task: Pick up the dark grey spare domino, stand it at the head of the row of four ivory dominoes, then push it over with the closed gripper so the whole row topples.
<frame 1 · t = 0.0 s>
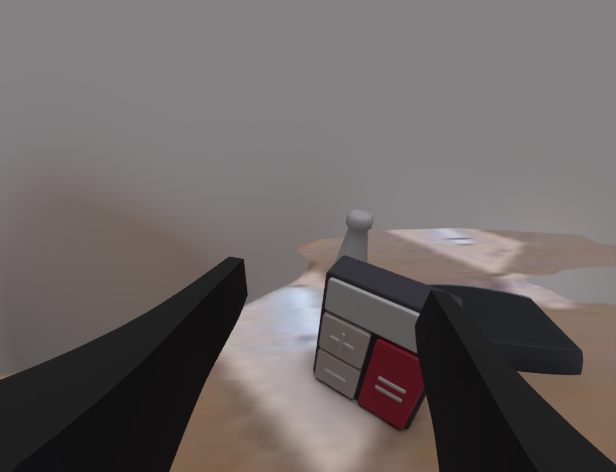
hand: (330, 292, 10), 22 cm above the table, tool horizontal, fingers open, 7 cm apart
salt shaker: (348, 278, 46), on the table
calculator: (360, 389, 29), on the table
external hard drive: (478, 332, 38), on the table
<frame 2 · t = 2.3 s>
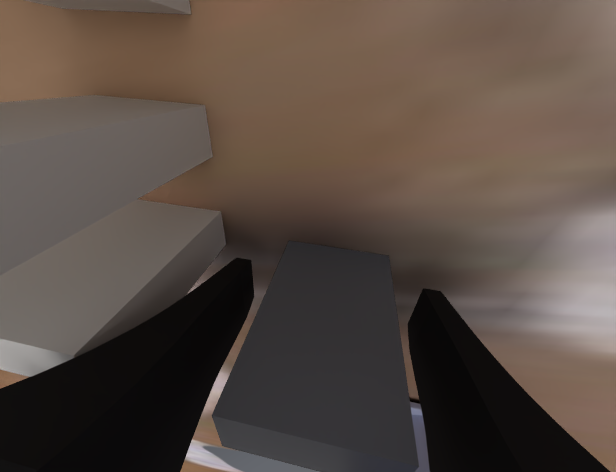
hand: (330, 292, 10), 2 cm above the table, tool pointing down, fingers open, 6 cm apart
tile 3: (154, 126, 10), on the table
tile 2: (181, 220, 12), on the table, touching gripper
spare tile: (335, 263, 12), on the table
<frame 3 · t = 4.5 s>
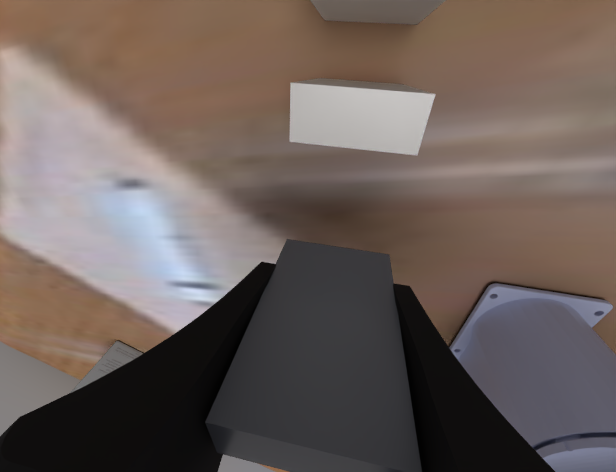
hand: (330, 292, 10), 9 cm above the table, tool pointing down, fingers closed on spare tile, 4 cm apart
tile 2: (358, 100, 14), on the table
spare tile: (334, 262, 11), point 7 cm above the table, touching gripper
skincare box: (135, 356, 37), on the table
when the fingers open (2 cm above the table, at t = 6.2 s): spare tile stays where it is, on the table.
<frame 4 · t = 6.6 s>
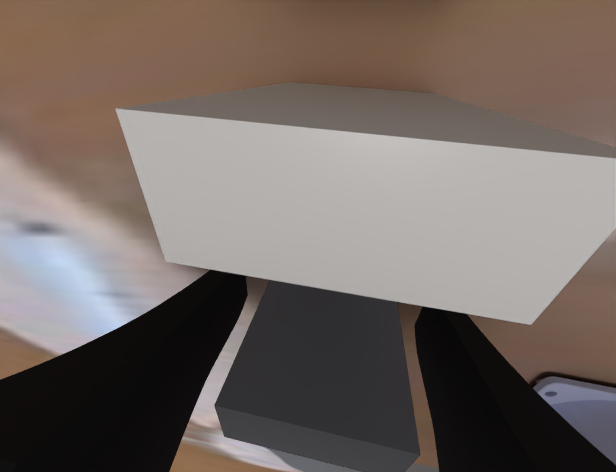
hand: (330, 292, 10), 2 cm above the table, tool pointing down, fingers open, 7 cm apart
tile 2: (356, 119, 8), on the table
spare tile: (335, 258, 12), on the table
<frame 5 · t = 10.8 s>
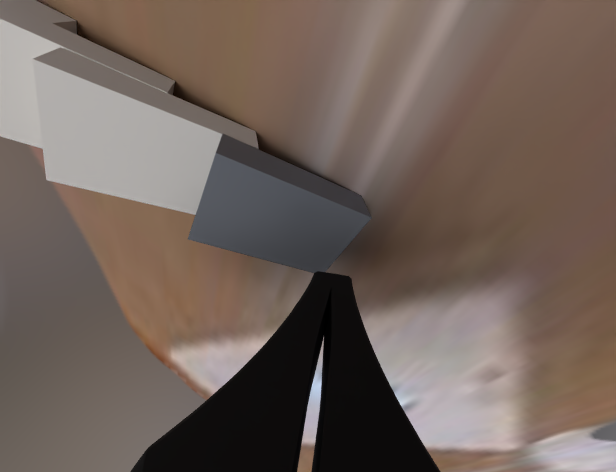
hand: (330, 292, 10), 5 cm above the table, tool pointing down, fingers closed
tile 3: (163, 133, 12), point 1 cm above the table, tilted 66°, touching tile 2
tile 2: (240, 178, 13), point 1 cm above the table, tilted 64°, touching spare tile, tile 3
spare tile: (340, 237, 13), point 1 cm above the table, tilted 71°, touching tile 2
tile 4: (67, 78, 11), point 1 cm above the table, tilted 70°, touching tile 5
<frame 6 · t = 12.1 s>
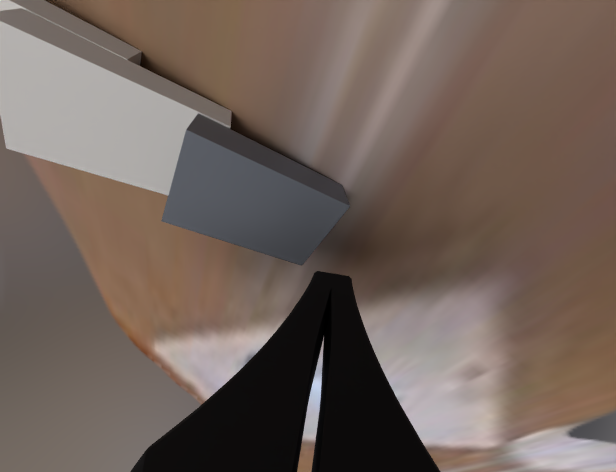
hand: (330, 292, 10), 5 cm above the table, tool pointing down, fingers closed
tile 3: (128, 106, 12), point 1 cm above the table, tilted 68°, touching tile 2, tile 4
tile 2: (215, 160, 12), point 1 cm above the table, tilted 66°, touching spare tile, tile 3
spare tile: (321, 227, 13), point 1 cm above the table, tilted 72°, touching tile 2
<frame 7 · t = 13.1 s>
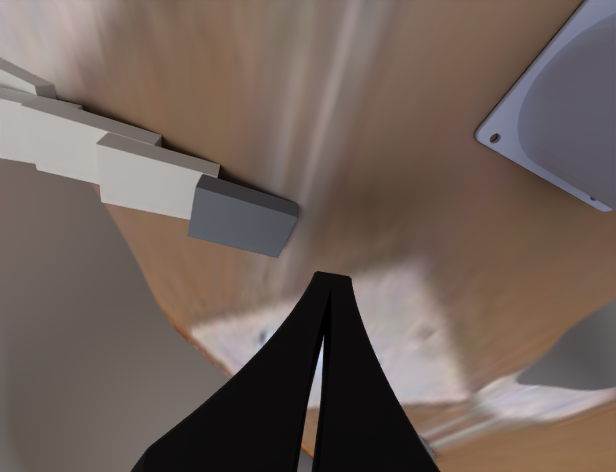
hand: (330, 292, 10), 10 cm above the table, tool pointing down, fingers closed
tile 3: (156, 167, 19), point 1 cm above the table, tilted 69°, touching tile 2, tile 4
tile 2: (213, 194, 20), point 1 cm above the table, tilted 68°, touching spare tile, tile 3
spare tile: (287, 231, 20), point 1 cm above the table, tilted 73°, touching tile 2
tile 4: (83, 139, 19), point 1 cm above the table, tilted 67°, touching tile 3, tile 5
tile 5: (54, 115, 19), on the table, tilted 90°, touching tile 4
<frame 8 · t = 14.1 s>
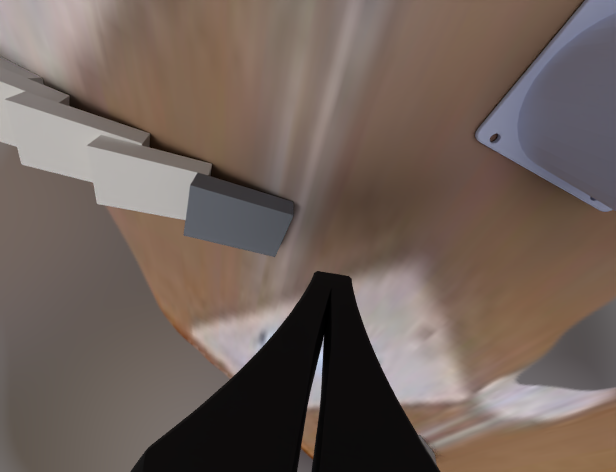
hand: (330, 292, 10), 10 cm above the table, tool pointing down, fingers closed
tile 3: (144, 164, 19), point 1 cm above the table, tilted 69°, touching tile 2
tile 2: (206, 194, 20), point 1 cm above the table, tilted 69°, touching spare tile, tile 3
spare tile: (283, 230, 20), point 1 cm above the table, tilted 74°, touching tile 2
tile 4: (63, 128, 19), point 1 cm above the table, tilted 64°, touching tile 5
tile 5: (41, 109, 19), on the table, tilted 90°, touching tile 4
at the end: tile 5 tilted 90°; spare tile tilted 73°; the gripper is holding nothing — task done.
